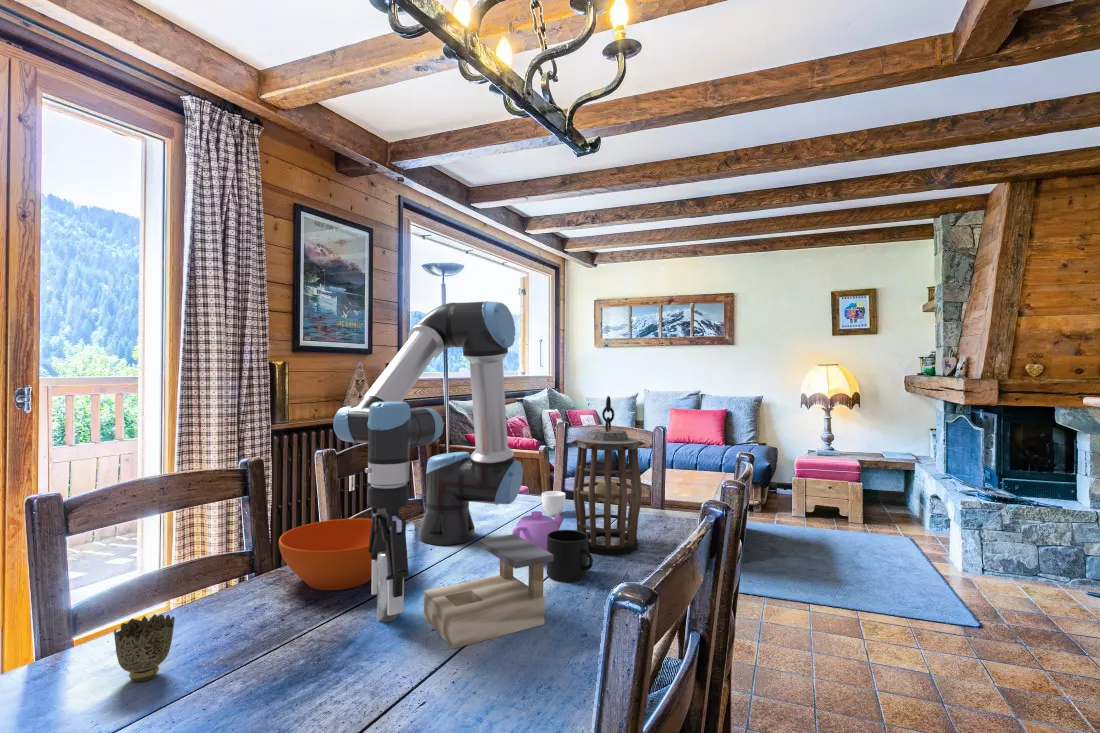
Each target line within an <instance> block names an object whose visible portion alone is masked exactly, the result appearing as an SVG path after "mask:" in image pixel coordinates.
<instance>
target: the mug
mask: <svg viewBox="0 0 1100 733" xmlns="http://www.w3.org/2000/svg"><path fill="white" fill-rule="evenodd" d="M547 551H548V552H550V553H551V554H553V555H554V556H553V561H551V562H546V575H547V577H548V578H550V579H551V580H554V581H557V582H563V583H572V582H573V583H575V582H580V581H583V580H585V579H587V577H588V575H589V570H591V568H592V567H593V564H594V558H593V556H592V553H590V552H589V551H588V535H587V534H586V533H584V532H581V531H577V529H576V530H575V529H559V530H557V531H553V532H550V533H549V534H548V535H547Z"/></svg>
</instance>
